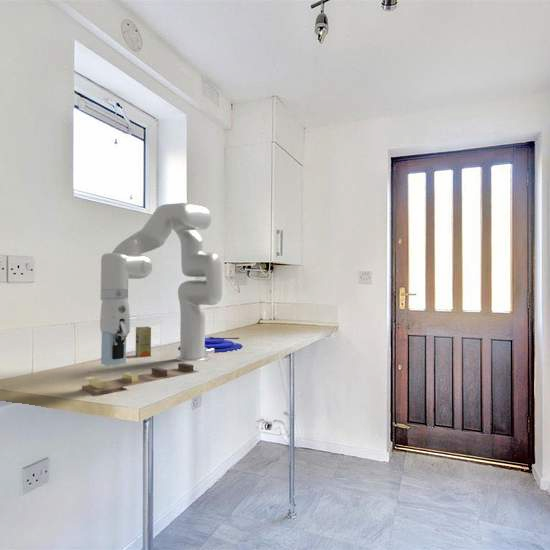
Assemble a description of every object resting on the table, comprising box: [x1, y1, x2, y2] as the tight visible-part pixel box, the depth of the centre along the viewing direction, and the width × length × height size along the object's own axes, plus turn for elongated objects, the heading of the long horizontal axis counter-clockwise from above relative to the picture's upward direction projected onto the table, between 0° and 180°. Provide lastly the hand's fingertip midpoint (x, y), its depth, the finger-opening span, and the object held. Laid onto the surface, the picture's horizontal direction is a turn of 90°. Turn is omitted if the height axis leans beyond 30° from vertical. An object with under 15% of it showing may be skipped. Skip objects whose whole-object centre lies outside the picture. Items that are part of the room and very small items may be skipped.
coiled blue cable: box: [178, 336, 243, 354], centre depth 189 cm, size 30×6×30 cm
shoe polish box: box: [135, 325, 152, 358], centre depth 167 cm, size 5×5×12 cm
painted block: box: [100, 332, 127, 367], centre depth 116 cm, size 5×5×9 cm
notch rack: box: [81, 362, 200, 396], centre depth 123 cm, size 34×10×3 cm, turn 137°
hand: (113, 356), depth 116 cm, fingers closed on painted block, 4 cm apart
